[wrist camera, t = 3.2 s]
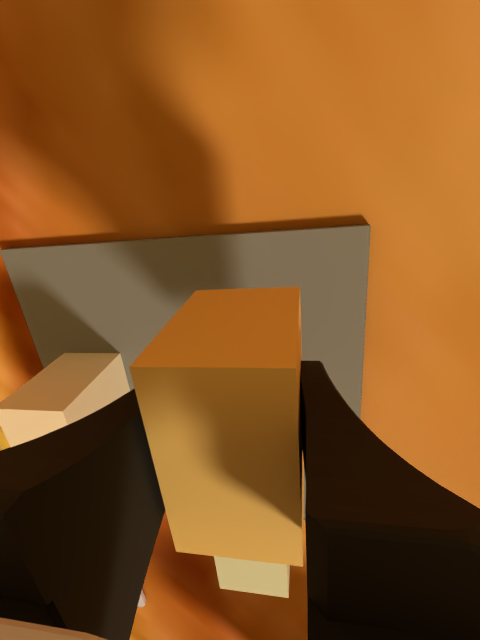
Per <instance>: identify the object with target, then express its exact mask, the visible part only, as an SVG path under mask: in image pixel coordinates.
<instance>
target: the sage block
mask: <svg viewBox="0 0 480 640" xmlns="http://www.w3.org/2000/svg"><path fill="white" fill-rule="evenodd" d="M214 560H215V565H216V570H217V575H218V581H219V586H220V589H228V590H235V591H242V592H249V593H256V594H263V595H270V596H277V597H285V598H289V575H290V565H284V564H276V563H267V562H259V561H251V560H242V559H234V558H225V557H217V556H214Z"/></svg>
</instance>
